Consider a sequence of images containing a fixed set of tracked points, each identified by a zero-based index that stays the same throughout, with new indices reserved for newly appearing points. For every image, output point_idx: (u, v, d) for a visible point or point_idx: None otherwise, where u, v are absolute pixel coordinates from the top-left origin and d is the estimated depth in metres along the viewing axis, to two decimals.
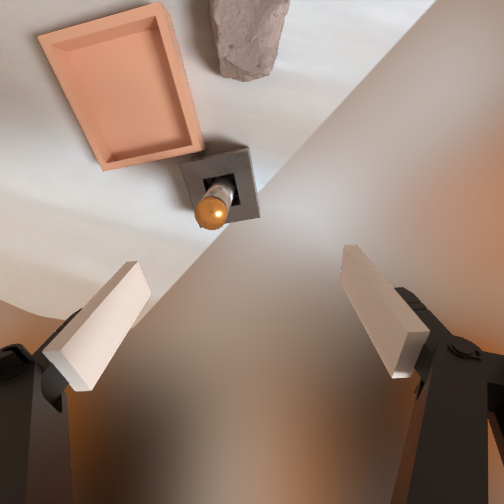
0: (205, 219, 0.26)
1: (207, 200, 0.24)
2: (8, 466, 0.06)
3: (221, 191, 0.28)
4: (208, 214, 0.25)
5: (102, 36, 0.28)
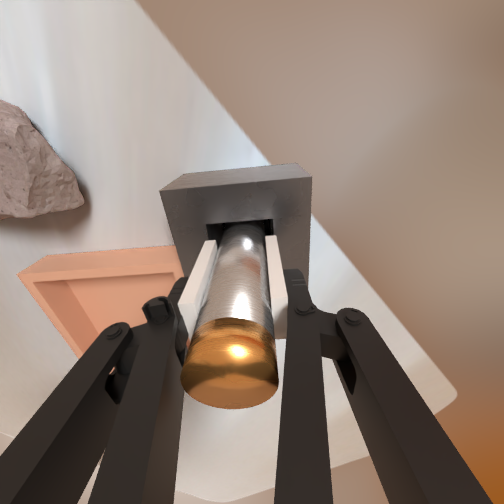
0: (242, 393, 0.09)
1: (183, 382, 0.08)
2: (145, 405, 0.07)
3: (207, 286, 0.12)
4: (226, 386, 0.08)
5: (80, 326, 0.27)
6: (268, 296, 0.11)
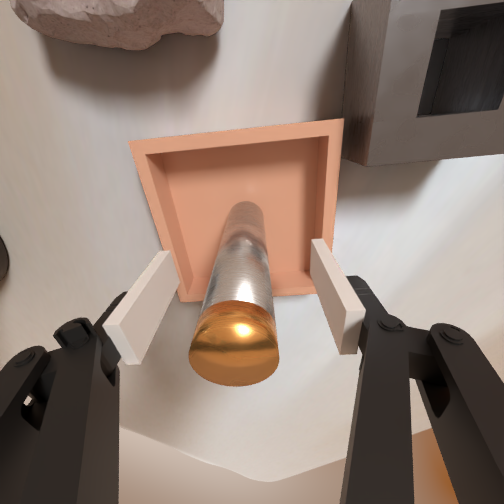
0: (245, 370, 0.09)
1: (191, 359, 0.09)
2: (70, 431, 0.06)
3: (211, 275, 0.12)
4: (231, 363, 0.09)
5: (176, 236, 0.22)
6: (269, 284, 0.12)
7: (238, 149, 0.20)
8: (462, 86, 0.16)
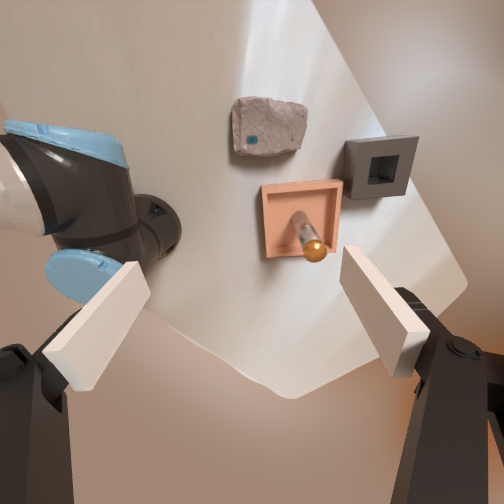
0: (317, 256, 0.37)
1: (305, 253, 0.37)
2: (8, 466, 0.06)
3: (302, 236, 0.40)
4: (314, 254, 0.37)
5: None
6: None
7: None
8: (386, 170, 0.44)
